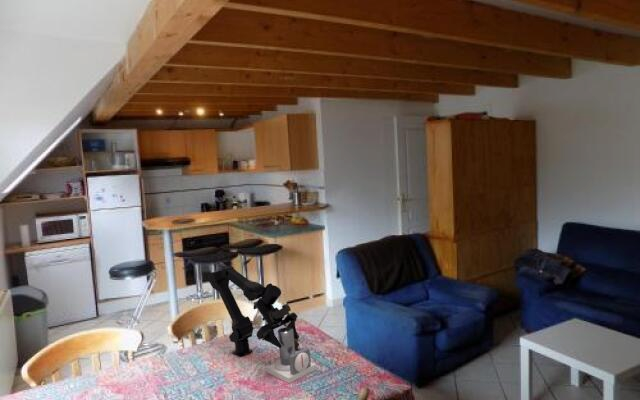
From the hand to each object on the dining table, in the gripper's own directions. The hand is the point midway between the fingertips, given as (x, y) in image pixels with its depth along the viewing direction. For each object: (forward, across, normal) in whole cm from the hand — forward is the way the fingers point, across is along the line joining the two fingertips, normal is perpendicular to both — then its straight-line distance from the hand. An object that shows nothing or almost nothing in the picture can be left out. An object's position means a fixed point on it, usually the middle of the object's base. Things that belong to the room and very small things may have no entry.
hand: (289, 343), depth 167 cm
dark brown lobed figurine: (-4, +19, +20) cm, 27 cm away
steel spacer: (+5, 0, +7) cm, 8 cm away
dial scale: (+8, 0, +8) cm, 11 cm away
